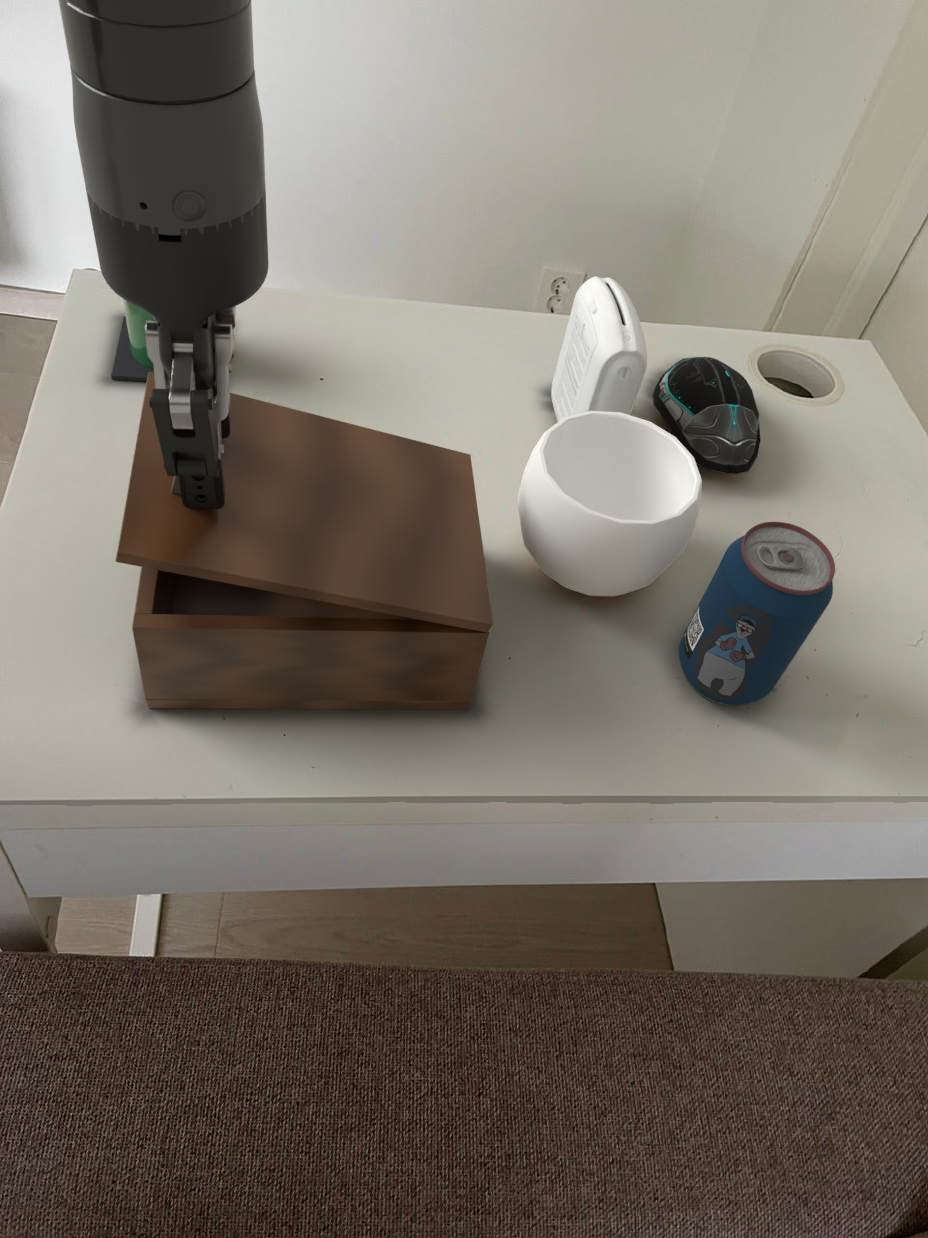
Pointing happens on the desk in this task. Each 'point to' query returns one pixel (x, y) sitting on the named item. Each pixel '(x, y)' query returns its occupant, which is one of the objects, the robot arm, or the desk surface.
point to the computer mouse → (710, 413)
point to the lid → (318, 516)
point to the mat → (127, 360)
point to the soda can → (756, 613)
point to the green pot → (138, 332)
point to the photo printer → (600, 353)
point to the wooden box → (292, 651)
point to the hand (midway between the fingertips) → (208, 467)
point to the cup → (608, 502)
